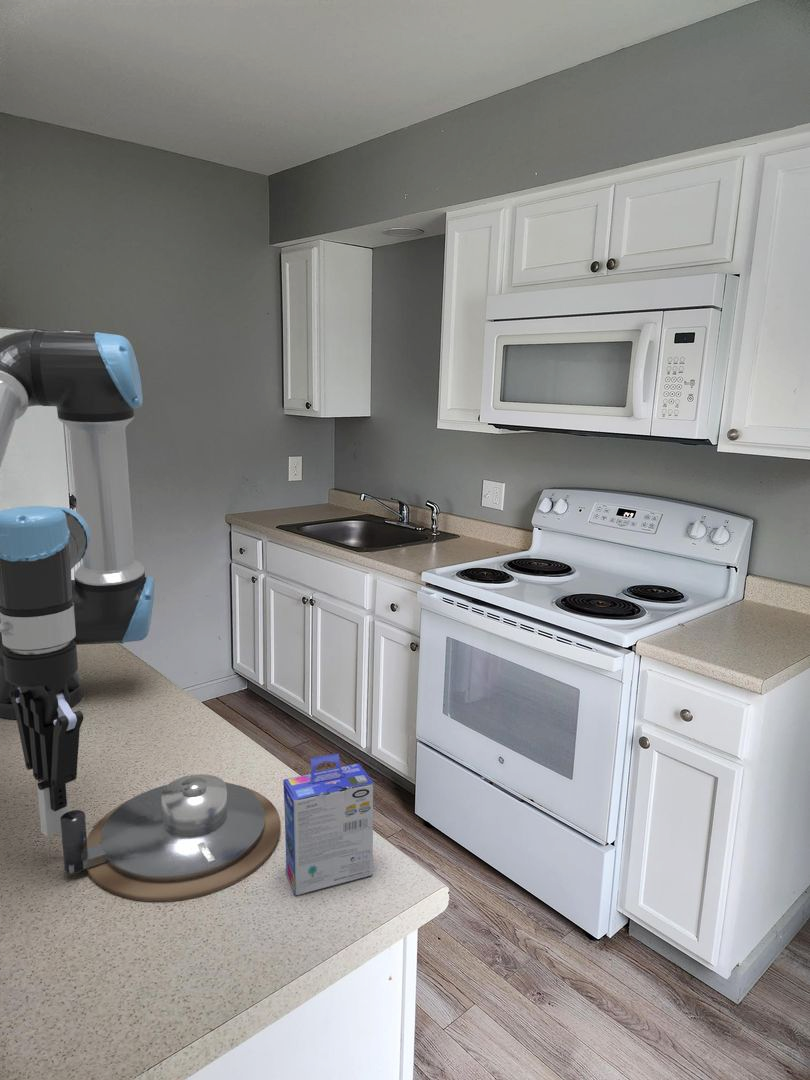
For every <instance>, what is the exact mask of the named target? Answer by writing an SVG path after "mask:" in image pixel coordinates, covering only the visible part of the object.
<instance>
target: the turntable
mask: <svg viewBox="0 0 810 1080" xmlns="http://www.w3.org/2000/svg"><path fill="white" fill-rule="evenodd" d="M224 782H225V784H226V788H227V819H226V821H225V823H224V824H223V825H222V826H221V827H220V828H219V829H217V830H215V831H214V832H212V833H209V834H207V835H203V836H199V837H192V838H183V837H177V836H173V835H171V834H169V833H168V832H166V831H165V829H164V828H163V821H162V801H161V793H162V791H163V789H164V788H165V787H166V786H167V785H168V784H164V785H162V786H161V785H160V786H157V787H156V788H155V787H154V788H152V789H149V790H146V791H144V792H142V793H140V794H138V795H136V796H133V797H132V798H130V799H128V800H129V801H128V800H126V801H127V802H126V801H125V802H126V803H124V802H123V803H124V804H123V803H122V804H123V805H121V804H120V805H121V806H120V807H119V808H118V809H117V810H115V811H114V812H113V813H112V814H111V816H110V817H109V818H108V819H107V821H106V822H105V824H104V826H103V829H102V832H101V844H99V845H95V846H92V847H89V848H87V837H88V834H87V825H86V823H87V822H86V814H85V812H84V811H83V810H80V809H73V810H71V811H69V810H68V812H67V813H65V814H63V815H62V816H61V818H60V820H61V831H60V832H61V841H62V852H63V853H62V854H63V865H64V866H63V867H64V871H65V872H66V873H69V874H76V873H80V872H83V871H84V870H86V868H89V867H92V866H95V865H98V864H101V863H104V862H107V863H108V864H109V866H110V867H111V868H113V869H114V870H116V871H117V872H119V873H121V874H123V875H125V876H127V877H130V878H133V879H137V880H142V881H150V882H177V881H184V880H191V879H195V878H199V877H203V876H206V875H209V874H212V873H215V872H218V871H220V870H222V869H225V868H227V867H228V866H230V865H232V864H234V863H236V862H237V861H239V860H240V859H242V858H243V857H244V856H246V855H247V854H248V853H249V852H250V851H251V850H252V849H253V848H254V847H255V846H256V845H257V843H258V842H259V841H260V839H261V837H262V835H263V832H264V828H265V812H264V807H263V805H262V803H261V801H260V800H259V799H258V798H257V797H256V796H255V795H254V794H253V793H251V792H250V791H248V790H247V789H245V788H243V787H244V786H243V787H240V786H241V785H239V786H237V785H238V784H234V783H231V782H226V781H224Z"/></svg>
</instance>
